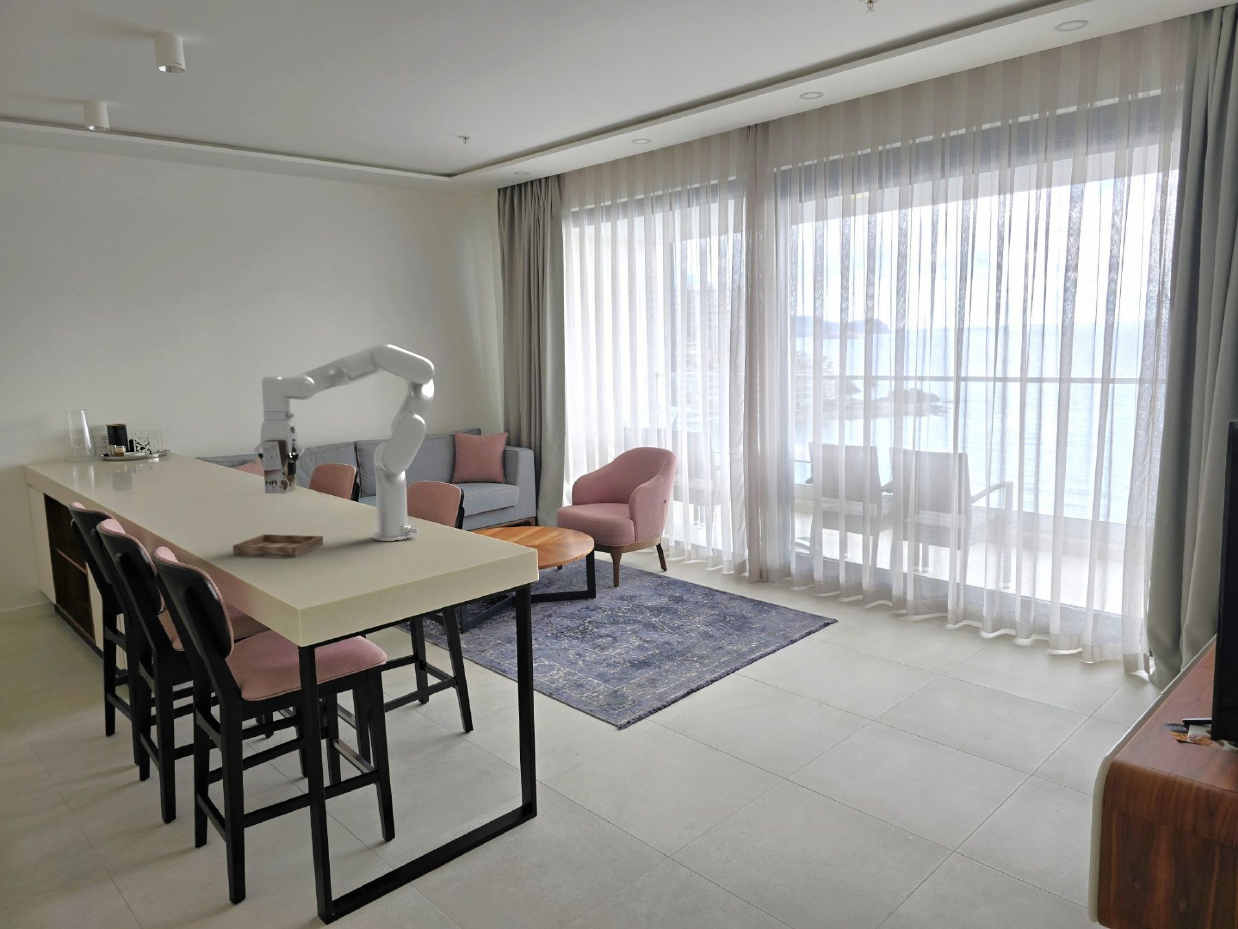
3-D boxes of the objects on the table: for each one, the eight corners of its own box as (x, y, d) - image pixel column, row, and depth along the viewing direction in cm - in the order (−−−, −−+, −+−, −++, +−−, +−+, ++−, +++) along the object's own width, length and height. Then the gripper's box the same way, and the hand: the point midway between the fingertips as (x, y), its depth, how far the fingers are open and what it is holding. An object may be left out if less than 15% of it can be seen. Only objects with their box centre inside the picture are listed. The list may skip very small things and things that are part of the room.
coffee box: (285, 494, 246) (282, 440, 244) (264, 494, 246) (261, 440, 244) (298, 489, 255) (295, 437, 253) (277, 489, 255) (274, 438, 253)
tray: (323, 545, 256) (322, 536, 256) (295, 557, 240) (295, 547, 240) (264, 543, 259) (264, 534, 259) (233, 555, 243) (233, 545, 243)
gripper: (310, 416, 250) (313, 473, 252) (258, 416, 252) (261, 472, 255) (297, 418, 242) (300, 477, 245) (243, 417, 245) (247, 476, 247)
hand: (280, 474), depth 250 cm, fingers closed on coffee box, 6 cm apart
